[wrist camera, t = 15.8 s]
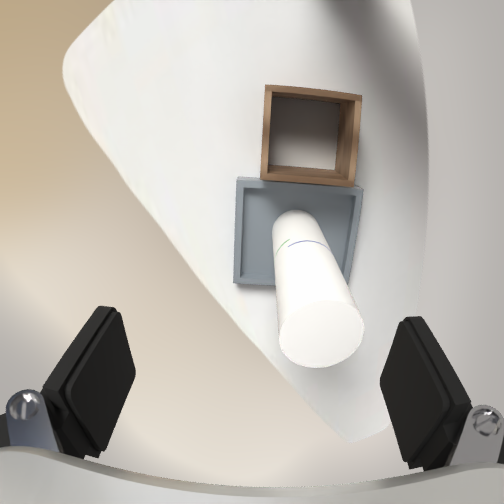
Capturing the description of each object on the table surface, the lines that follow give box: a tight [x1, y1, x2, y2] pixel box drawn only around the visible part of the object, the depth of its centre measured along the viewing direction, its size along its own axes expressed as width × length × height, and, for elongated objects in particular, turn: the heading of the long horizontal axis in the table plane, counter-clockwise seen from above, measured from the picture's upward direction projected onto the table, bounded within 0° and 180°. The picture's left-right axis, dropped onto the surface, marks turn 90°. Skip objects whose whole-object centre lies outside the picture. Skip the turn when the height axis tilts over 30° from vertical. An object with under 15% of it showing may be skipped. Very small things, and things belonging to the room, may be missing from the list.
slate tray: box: [233, 177, 363, 286], centre depth 48 cm, size 16×18×2 cm
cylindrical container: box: [272, 210, 364, 368], centre depth 37 cm, size 7×7×25 cm
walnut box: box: [260, 85, 362, 187], centre depth 40 cm, size 12×12×8 cm
